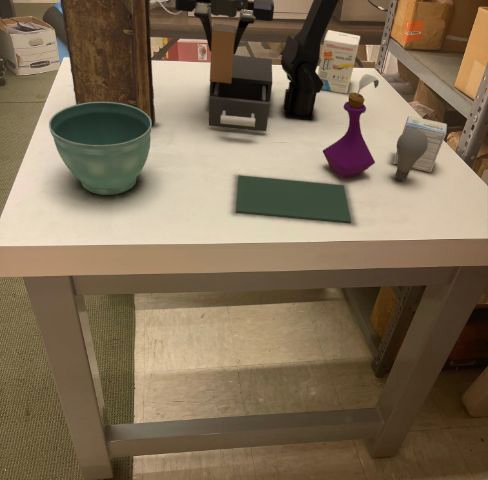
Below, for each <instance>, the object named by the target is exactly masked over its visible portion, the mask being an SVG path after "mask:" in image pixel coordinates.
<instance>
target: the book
mask: <svg viewBox="0 0 488 480" xmlns="http://www.w3.org/2000/svg"><path fill="white" fill-rule="evenodd" d="M59 1H60V8H61V12H62V19H63V24H64V27H63V29H64V32H65V37H66V44H67V45H66V46H67V52H68V57H69V63H70V64H69V65H70V73H71V75H72V76H71V78H72V83H73V84H72V85H73V92H74V99H75V105H78V104H83V103H89V102H114V103H122V104H126V105H130V106H133V107H136V108H138V109H140V110H142V111H143V112H145V113H146V114H147V115H148V116H149V117H150V119H151V121H152V126H155V125H156V109H155V101H154V99H155V93H154V84H153V83H154V81H153V59H152V42H151V41H152V40H151V39H152V38H151V33H152V32H151V31H152V30H151V29H152V27H151V18H150V17H151V15H150V14H151V0H59Z"/></svg>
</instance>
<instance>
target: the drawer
mask: <svg viewBox="0 0 488 480" xmlns="http://www.w3.org/2000/svg"><path fill="white" fill-rule="evenodd" d="M208 99H209V100H208V121H207V125H208V127H216V128H225V129H236V130H244V131H245V130H246V131H256V132H266V133H267V130H268V129H267V128H268V120H269V112H270V106H271V105H270V104H271V102H270V103H269V102H266V85H264V84H255V83H245V82H235V81H231V84H230V83H221V82H216V85H215V90H214V96H210V95H209V98H208Z"/></svg>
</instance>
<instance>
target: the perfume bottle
mask: <svg viewBox="0 0 488 480" xmlns="http://www.w3.org/2000/svg"><path fill="white" fill-rule="evenodd" d="M379 81H380V80H379V79H378V78H377V77H375V76H374V75H371V74H368V73H366V74H364V75H363V76H362V77H361V78H360V80H359V82H358V90H357V92H353V91H352V92H350V93H348V101H345V103H344V104H343V107H342V108H343V109H344V111H346V113H347V115H348V119H349V121H348V127H347V130H346V132H345V133H344V135H343V136H342V137H341V138H339V139H338V140H337V141H336V142H333V143H332V144H330V145H329V146H327V147H326V148H324V149H323V150H322V153H323V156H324V157H325V159H326V162H327V164H328V166H329V168H330V169H331V170H332V171H333V172H334V173H335V174H336V175H337V176H339V177H340V178H341V179H346V178H351V177H357V176H359V175H361V174H362V173H364V172H365V171H367V170H369V168H370V167H373V165H375V164H376V161H375V159H374V157H373V155H372V154H371V151H370V149H369V147H368V145H367V143H366V141H365V139H364V137H363V134H362V128H361V122H360V121H361V116H362V114H364V113H366V111H367V106H366V105H365V104H364V102H365V98H364V96H363V95H362V94H361V93H360V91H361V90H363V88H365V87H367V86H368V85H370V84H372V83H373V86H374V89H376V88H377V87H378V86H379V83H380V82H379Z"/></svg>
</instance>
